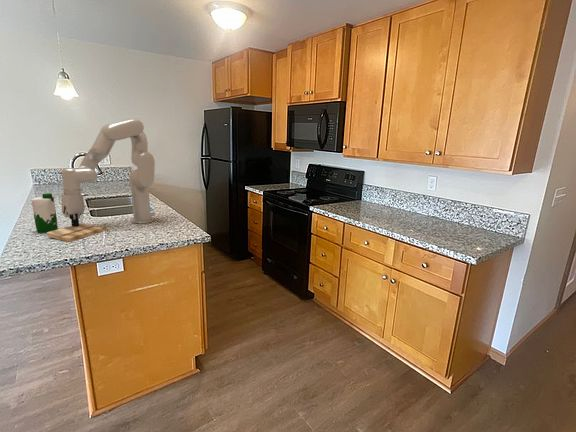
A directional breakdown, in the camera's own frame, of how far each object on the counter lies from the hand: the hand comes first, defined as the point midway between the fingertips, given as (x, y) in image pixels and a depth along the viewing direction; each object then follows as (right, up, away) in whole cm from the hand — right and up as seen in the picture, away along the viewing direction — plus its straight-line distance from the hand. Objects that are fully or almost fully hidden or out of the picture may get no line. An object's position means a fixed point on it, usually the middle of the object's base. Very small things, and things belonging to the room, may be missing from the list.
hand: (75, 226), depth 170 cm
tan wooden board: (+1, -3, -4) cm, 5 cm away
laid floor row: (+8, -5, -5) cm, 11 cm away
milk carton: (-14, -3, -1) cm, 15 cm away
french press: (-29, +7, +38) cm, 48 cm away
